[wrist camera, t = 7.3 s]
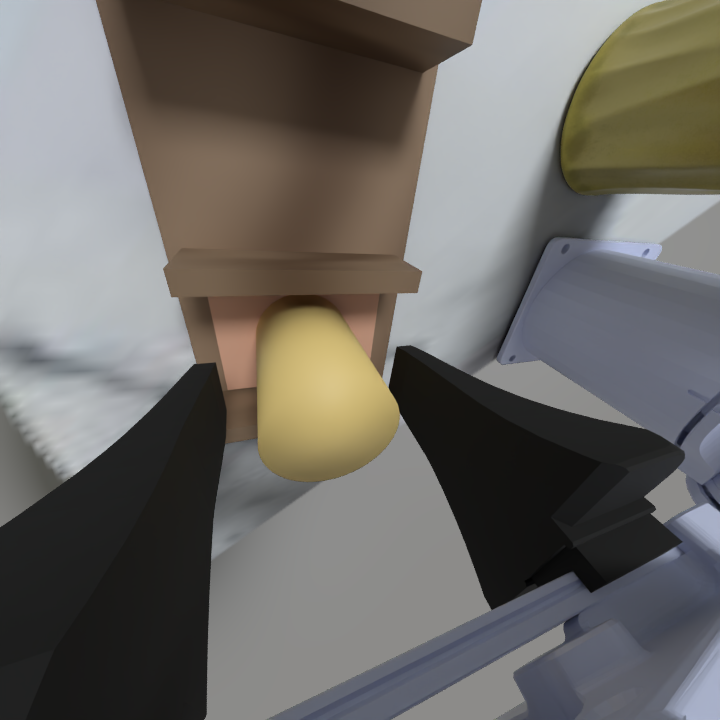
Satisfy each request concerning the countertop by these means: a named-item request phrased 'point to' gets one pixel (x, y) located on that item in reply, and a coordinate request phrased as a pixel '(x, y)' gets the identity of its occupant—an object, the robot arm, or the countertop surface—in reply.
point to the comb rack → (281, 157)
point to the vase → (649, 106)
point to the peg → (317, 393)
